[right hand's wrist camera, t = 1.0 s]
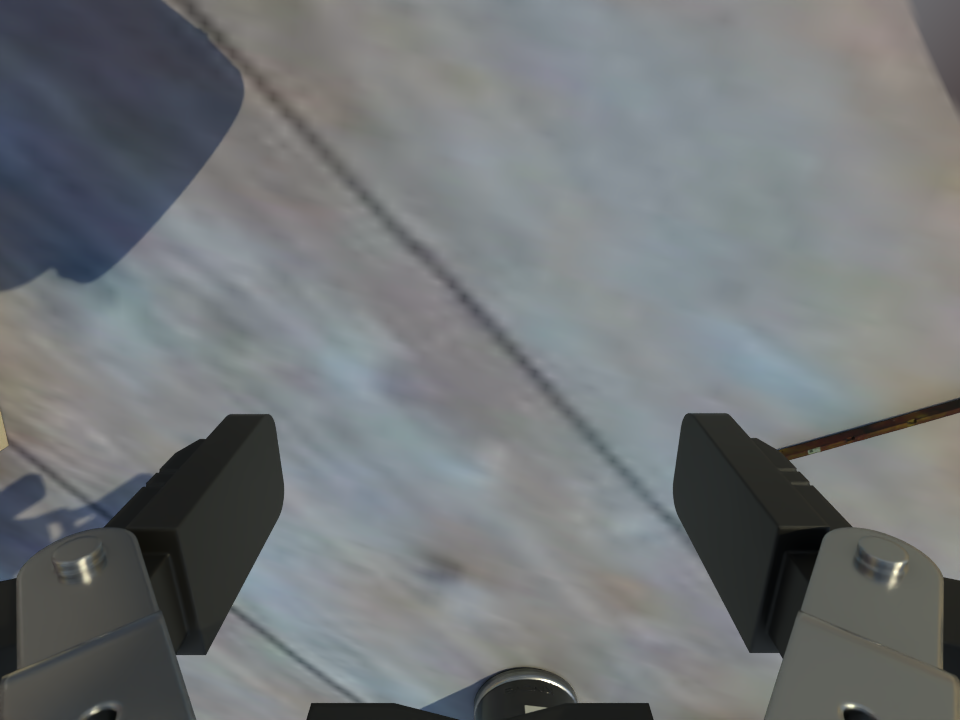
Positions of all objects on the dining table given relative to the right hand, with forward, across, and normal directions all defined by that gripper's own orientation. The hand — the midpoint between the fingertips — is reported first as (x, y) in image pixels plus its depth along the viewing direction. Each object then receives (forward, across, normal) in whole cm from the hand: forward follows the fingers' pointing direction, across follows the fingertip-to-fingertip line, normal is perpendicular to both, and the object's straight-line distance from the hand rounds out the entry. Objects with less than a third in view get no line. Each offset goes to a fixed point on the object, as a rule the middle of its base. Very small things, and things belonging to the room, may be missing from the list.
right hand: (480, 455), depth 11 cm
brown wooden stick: (+28, +29, -14) cm, 42 cm away
